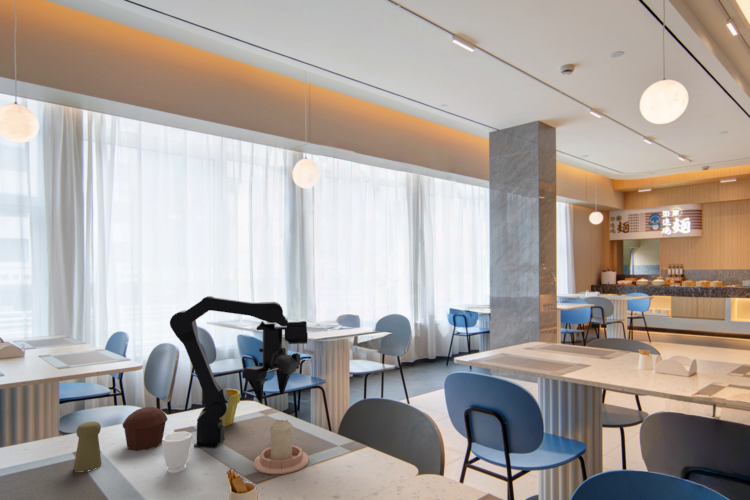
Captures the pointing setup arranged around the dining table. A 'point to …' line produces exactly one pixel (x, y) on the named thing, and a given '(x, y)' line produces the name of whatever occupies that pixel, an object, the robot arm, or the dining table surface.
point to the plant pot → (231, 407)
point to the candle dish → (281, 462)
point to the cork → (88, 447)
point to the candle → (281, 440)
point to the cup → (177, 450)
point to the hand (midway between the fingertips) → (271, 397)
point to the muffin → (144, 428)
